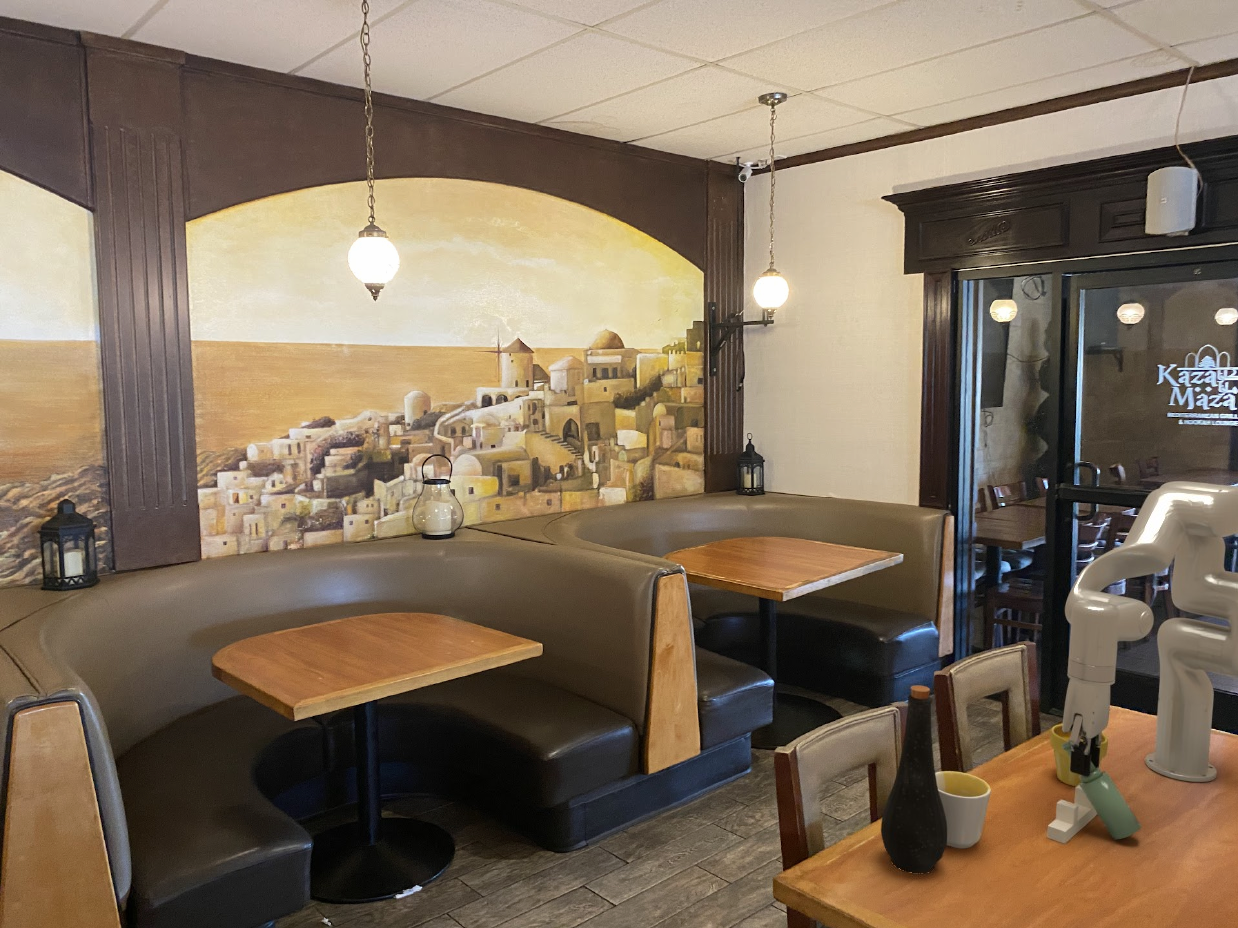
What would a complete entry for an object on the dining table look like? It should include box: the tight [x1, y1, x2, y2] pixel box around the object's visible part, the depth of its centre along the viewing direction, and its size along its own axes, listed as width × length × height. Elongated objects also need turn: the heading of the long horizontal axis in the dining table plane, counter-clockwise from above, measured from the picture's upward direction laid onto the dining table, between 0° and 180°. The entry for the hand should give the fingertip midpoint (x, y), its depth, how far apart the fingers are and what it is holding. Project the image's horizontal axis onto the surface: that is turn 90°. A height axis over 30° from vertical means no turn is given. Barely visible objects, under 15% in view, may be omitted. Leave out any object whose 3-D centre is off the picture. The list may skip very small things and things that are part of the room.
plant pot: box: [1049, 723, 1109, 787], centre depth 188 cm, size 10×10×10 cm
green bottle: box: [1062, 741, 1142, 840], centre depth 167 cm, size 5×5×17 cm
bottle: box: [880, 684, 947, 875], centre depth 155 cm, size 11×11×30 cm
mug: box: [935, 770, 992, 849], centre depth 164 cm, size 14×10×10 cm
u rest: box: [1046, 785, 1098, 845], centre depth 170 cm, size 18×3×5 cm, turn 134°
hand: (1084, 769), depth 168 cm, fingers closed on green bottle, 3 cm apart
